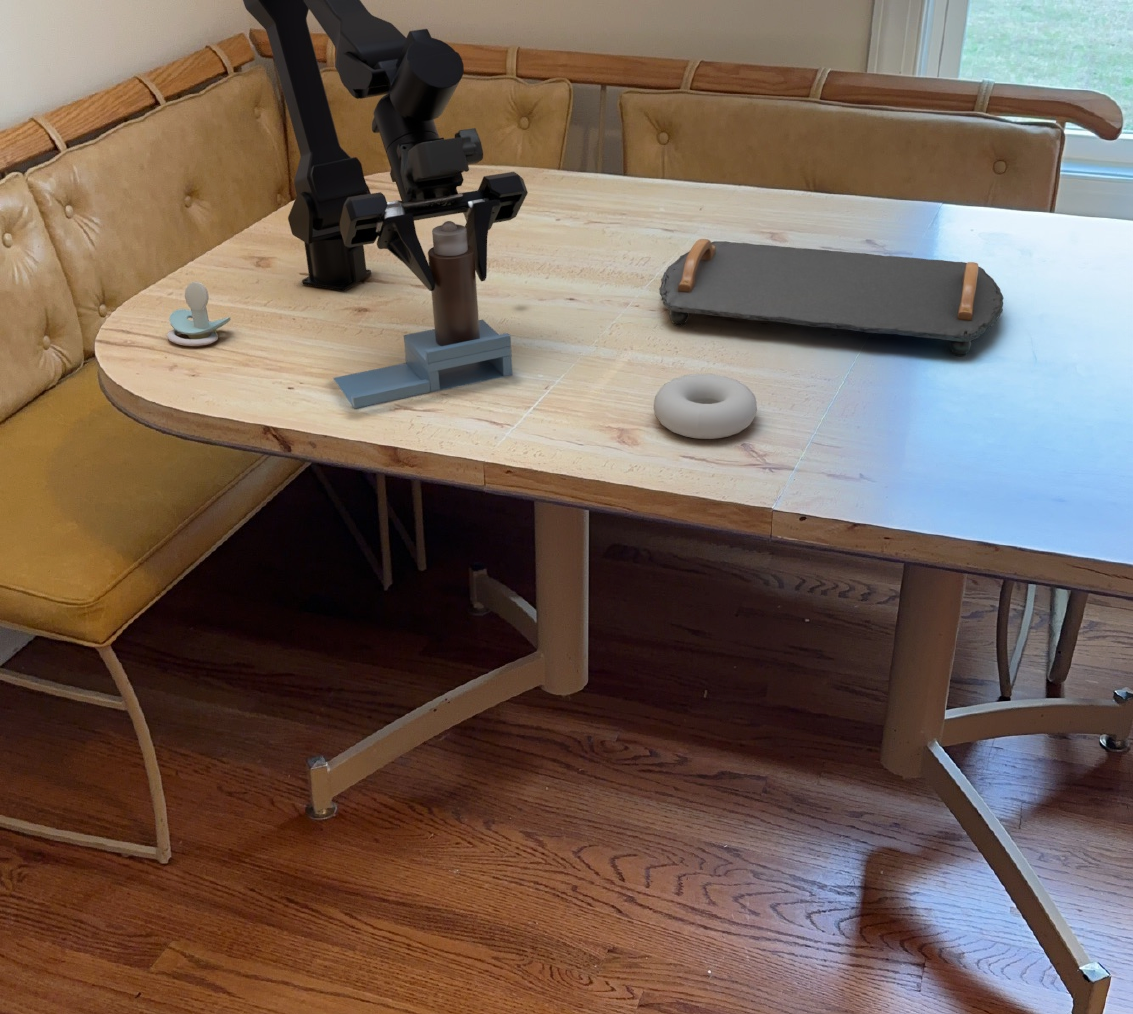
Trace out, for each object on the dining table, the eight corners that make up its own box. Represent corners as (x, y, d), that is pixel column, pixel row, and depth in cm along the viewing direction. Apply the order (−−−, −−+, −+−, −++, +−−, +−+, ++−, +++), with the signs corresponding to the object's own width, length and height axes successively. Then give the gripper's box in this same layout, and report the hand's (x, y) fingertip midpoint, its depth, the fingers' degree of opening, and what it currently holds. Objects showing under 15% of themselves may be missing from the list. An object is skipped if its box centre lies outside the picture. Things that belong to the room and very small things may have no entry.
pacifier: (206, 353, 134) (240, 332, 139) (195, 301, 131) (229, 280, 135) (155, 343, 137) (190, 322, 141) (142, 292, 133) (178, 272, 138)
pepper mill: (427, 344, 125) (416, 225, 118) (449, 328, 128) (439, 211, 122) (466, 351, 123) (457, 231, 117) (487, 334, 127) (480, 216, 120)
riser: (333, 384, 126) (327, 338, 124) (484, 352, 132) (482, 308, 130) (355, 415, 120) (349, 368, 118) (513, 381, 126) (510, 335, 123)
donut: (743, 396, 122) (646, 400, 122) (746, 365, 120) (647, 369, 120) (766, 443, 114) (661, 448, 113) (769, 410, 112) (662, 415, 111)
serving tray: (1001, 288, 145) (1010, 237, 142) (996, 367, 126) (1006, 312, 123) (686, 258, 156) (688, 211, 152) (639, 328, 137) (639, 276, 134)
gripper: (332, 113, 113) (380, 263, 110) (516, 90, 120) (565, 231, 117) (321, 175, 123) (364, 314, 121) (491, 150, 130) (535, 281, 127)
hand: (458, 284), depth 121 cm, fingers open, 5 cm apart
